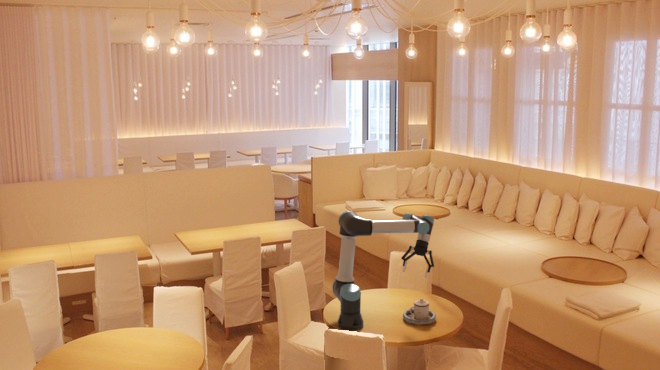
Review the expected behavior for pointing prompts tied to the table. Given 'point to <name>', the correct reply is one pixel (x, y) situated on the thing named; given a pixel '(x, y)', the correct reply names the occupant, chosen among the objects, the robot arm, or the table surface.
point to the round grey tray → (412, 320)
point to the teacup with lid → (420, 309)
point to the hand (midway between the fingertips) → (414, 274)
